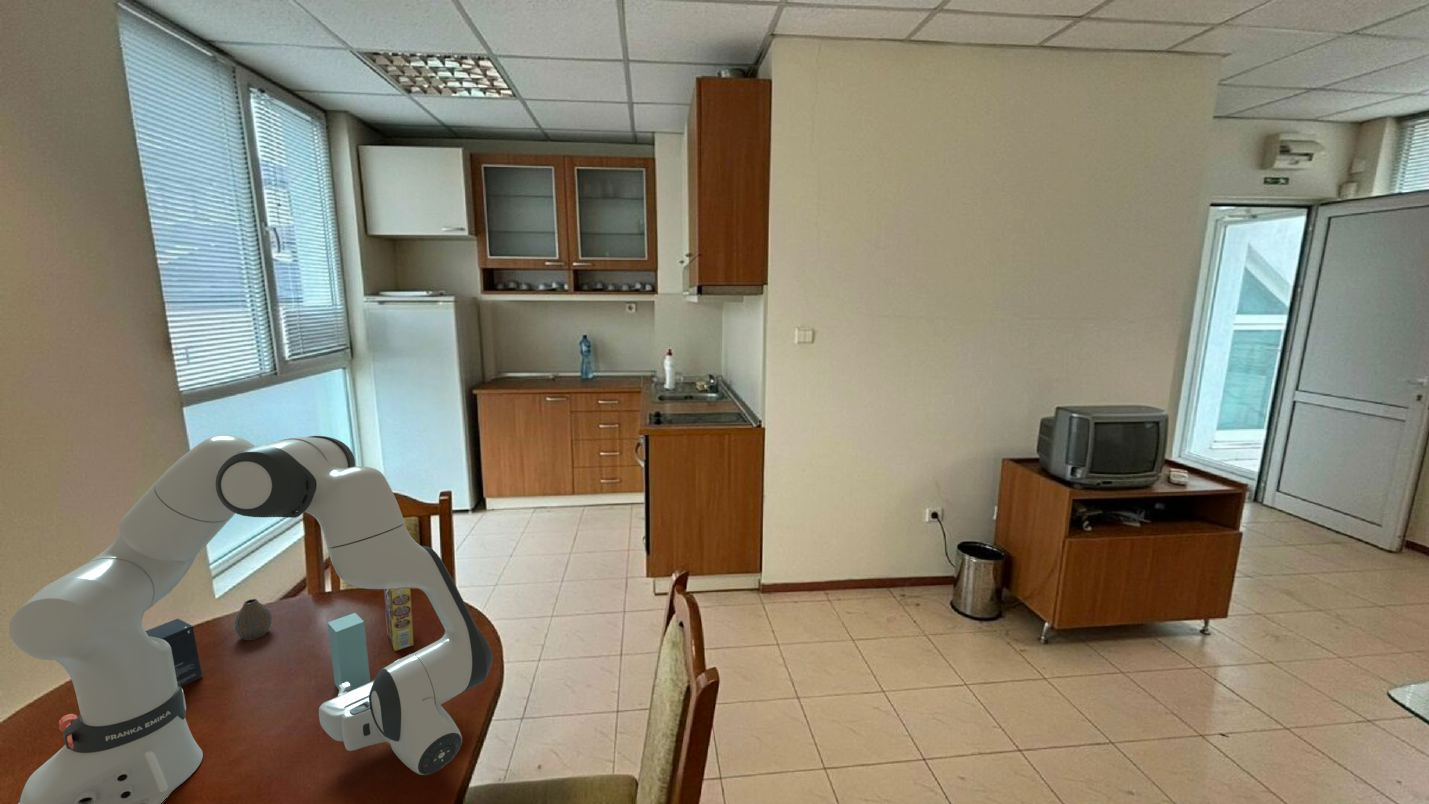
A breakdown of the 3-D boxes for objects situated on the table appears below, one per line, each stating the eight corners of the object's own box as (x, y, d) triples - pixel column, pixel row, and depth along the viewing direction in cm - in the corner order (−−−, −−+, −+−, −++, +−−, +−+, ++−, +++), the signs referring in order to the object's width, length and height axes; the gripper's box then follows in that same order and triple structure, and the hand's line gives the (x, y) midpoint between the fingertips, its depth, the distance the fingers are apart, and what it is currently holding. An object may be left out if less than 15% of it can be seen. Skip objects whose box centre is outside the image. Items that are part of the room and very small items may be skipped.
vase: (228, 641, 134) (223, 606, 132) (259, 625, 140) (255, 591, 139) (250, 646, 132) (245, 611, 130) (280, 630, 138) (276, 596, 137)
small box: (187, 667, 124) (179, 616, 122) (204, 677, 121) (195, 625, 119) (103, 705, 113) (92, 650, 110) (119, 717, 110) (108, 660, 108)
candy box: (415, 645, 133) (410, 583, 131) (394, 652, 131) (389, 589, 128) (407, 628, 140) (401, 569, 137) (386, 634, 137) (381, 574, 135)
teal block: (343, 695, 116) (336, 632, 114) (334, 684, 120) (327, 622, 117) (370, 683, 120) (364, 621, 118) (361, 672, 123) (355, 612, 121)
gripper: (457, 664, 109) (425, 636, 118) (333, 723, 94) (307, 685, 102) (459, 694, 110) (427, 664, 119) (337, 757, 95) (311, 717, 104)
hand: (371, 674), depth 111 cm, fingers open, 8 cm apart
